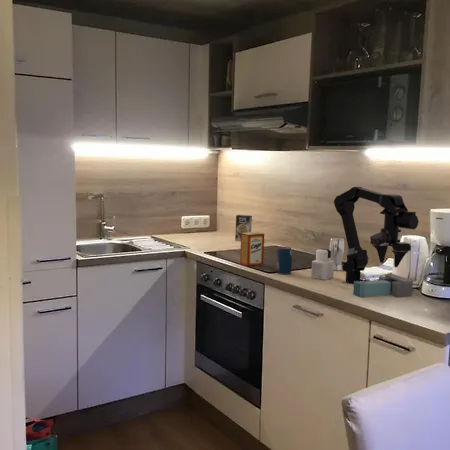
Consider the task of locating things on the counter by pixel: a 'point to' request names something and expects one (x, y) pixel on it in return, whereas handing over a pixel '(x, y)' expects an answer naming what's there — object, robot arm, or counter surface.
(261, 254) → the baking soda box
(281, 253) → the soda can
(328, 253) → the container
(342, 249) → the beer glass
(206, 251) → the counter surface
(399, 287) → the header
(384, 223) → the robot arm
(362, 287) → the teal rectangular block
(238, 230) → the coffee box
